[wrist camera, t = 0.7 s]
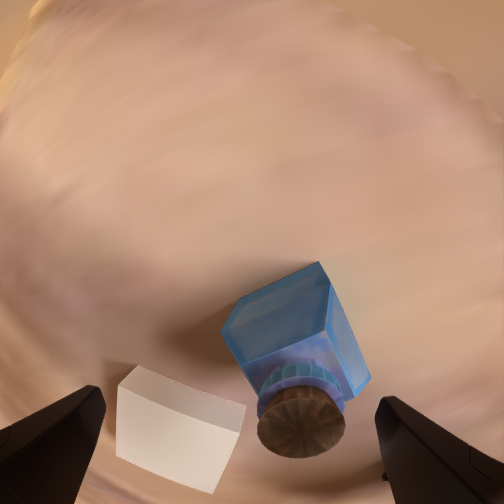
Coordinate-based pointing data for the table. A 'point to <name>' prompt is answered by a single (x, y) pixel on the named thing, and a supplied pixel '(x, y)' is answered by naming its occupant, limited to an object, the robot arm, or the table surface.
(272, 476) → the table surface
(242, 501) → the table surface
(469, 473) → the robot arm
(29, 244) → the table surface
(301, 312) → the perfume bottle
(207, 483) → the cream block
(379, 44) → the table surface
